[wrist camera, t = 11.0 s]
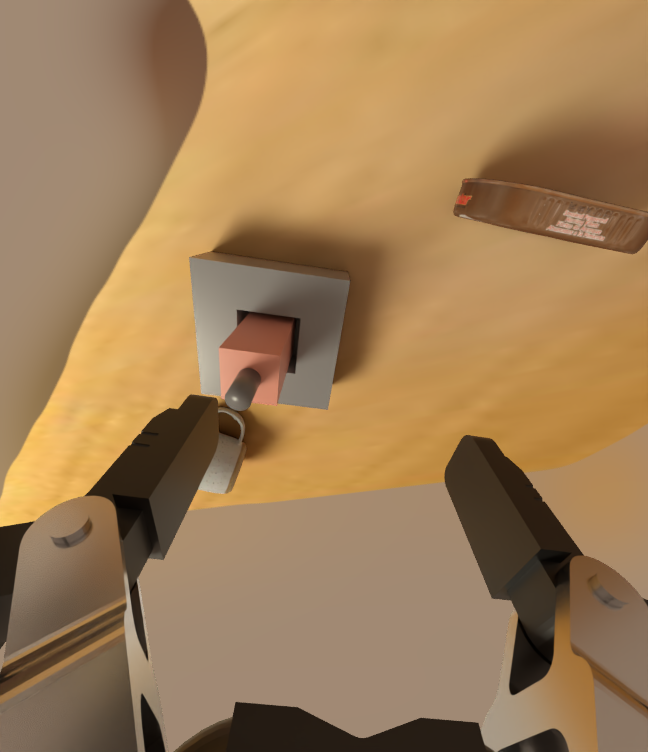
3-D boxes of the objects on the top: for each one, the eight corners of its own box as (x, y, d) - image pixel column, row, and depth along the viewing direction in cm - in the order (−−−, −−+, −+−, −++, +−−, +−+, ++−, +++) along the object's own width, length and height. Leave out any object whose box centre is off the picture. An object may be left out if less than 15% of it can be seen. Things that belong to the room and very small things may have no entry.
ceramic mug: (240, 466, 44) (223, 511, 37) (186, 450, 42) (159, 493, 35) (260, 415, 39) (245, 455, 32) (200, 394, 38) (172, 432, 31)
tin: (603, 215, 26) (707, 213, 19) (582, 251, 28) (671, 263, 21) (448, 179, 25) (495, 164, 18) (435, 219, 27) (474, 219, 20)
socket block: (211, 251, 29) (189, 257, 24) (347, 271, 29) (350, 281, 25) (217, 371, 36) (201, 393, 31) (328, 386, 36) (327, 409, 32)
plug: (254, 306, 30) (202, 366, 18) (296, 312, 31) (272, 375, 18) (254, 345, 33) (206, 422, 20) (293, 350, 33) (269, 429, 20)
